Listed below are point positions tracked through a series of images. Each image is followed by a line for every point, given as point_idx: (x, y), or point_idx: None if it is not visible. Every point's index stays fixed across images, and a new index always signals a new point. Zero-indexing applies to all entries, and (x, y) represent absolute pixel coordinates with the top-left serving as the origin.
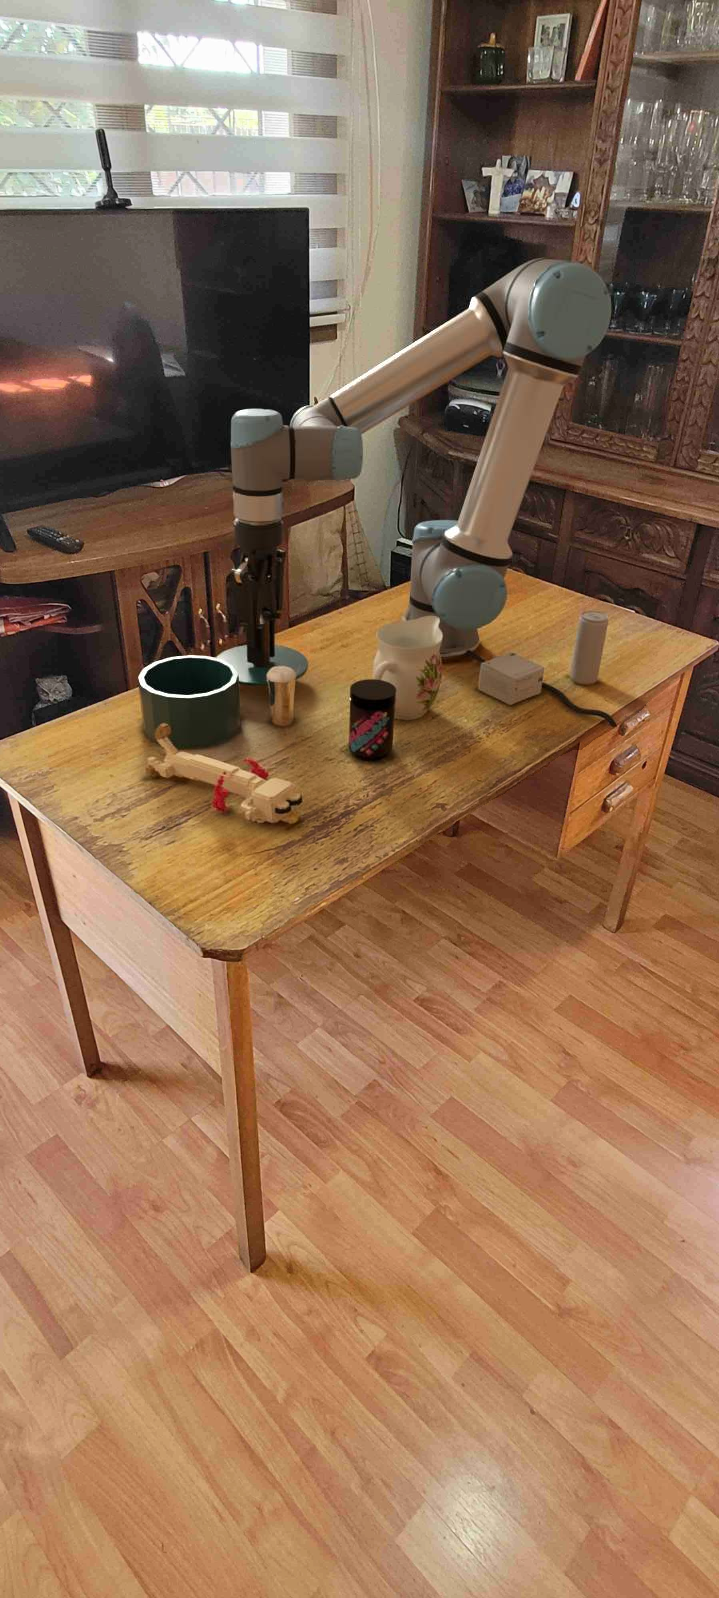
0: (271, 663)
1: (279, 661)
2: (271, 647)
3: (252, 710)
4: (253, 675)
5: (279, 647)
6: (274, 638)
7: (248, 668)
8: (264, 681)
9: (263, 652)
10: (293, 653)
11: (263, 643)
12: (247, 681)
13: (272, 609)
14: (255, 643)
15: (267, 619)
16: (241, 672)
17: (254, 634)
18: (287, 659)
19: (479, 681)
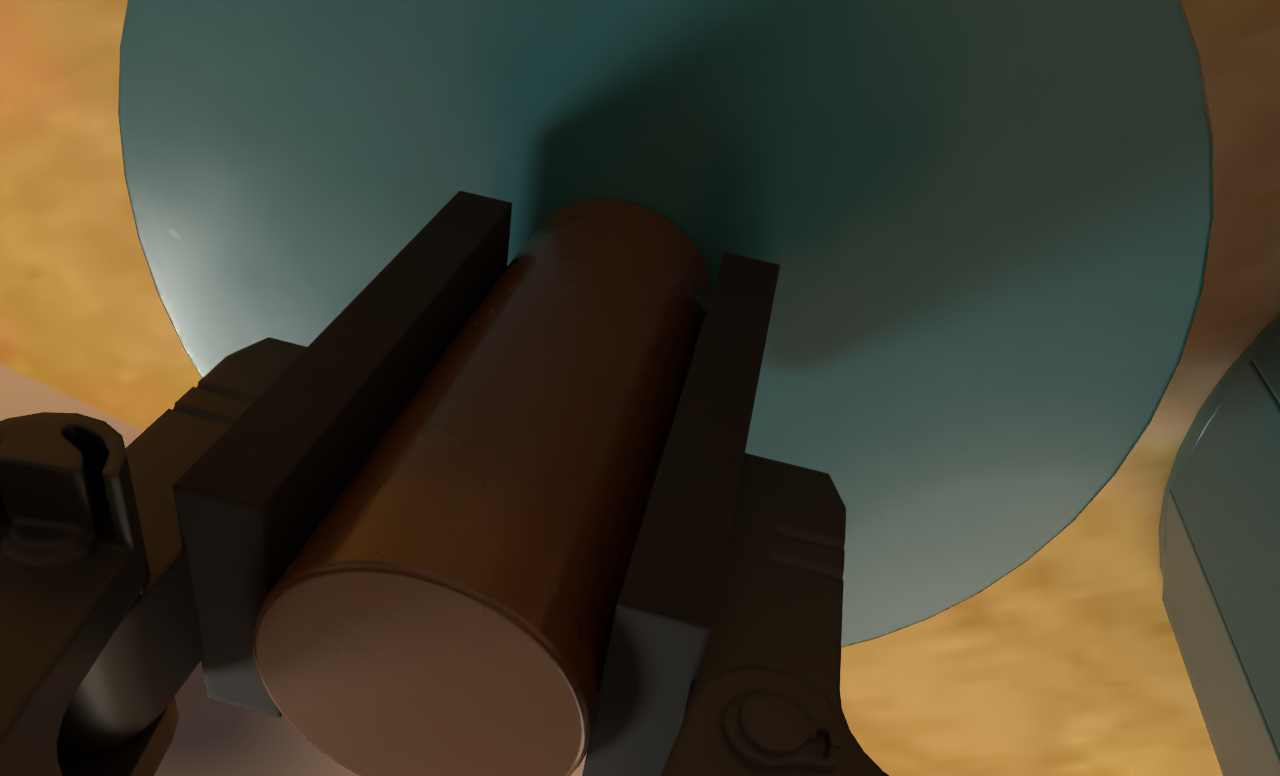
0: (589, 179)
1: (497, 105)
2: (466, 272)
3: (1273, 99)
4: (983, 279)
5: (178, 218)
6: (361, 298)
7: (806, 374)
8: (1148, 99)
9: (663, 325)
10: (214, 12)
11: (631, 395)
12: (1170, 298)
13: (44, 685)
14: (789, 501)
15: (297, 602)
16: (929, 414)
17: (805, 628)
18: (401, 27)
19: None
